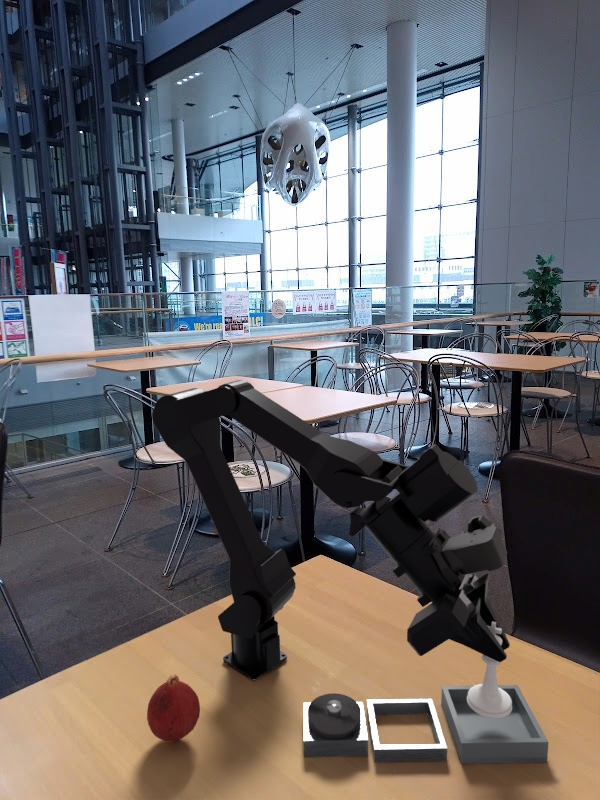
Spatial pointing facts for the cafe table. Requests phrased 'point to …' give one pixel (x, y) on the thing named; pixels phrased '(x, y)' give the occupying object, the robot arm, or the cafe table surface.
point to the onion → (173, 710)
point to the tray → (494, 730)
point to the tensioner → (347, 735)
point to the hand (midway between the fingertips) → (505, 653)
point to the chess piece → (490, 689)
